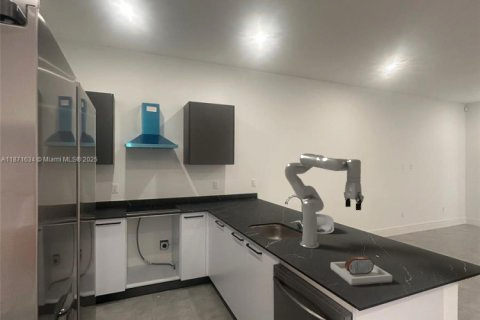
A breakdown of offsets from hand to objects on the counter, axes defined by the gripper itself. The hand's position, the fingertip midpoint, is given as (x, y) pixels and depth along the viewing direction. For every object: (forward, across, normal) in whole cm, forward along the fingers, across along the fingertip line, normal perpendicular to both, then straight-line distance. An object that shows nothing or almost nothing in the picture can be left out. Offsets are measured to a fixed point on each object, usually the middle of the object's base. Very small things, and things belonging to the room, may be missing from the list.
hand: (353, 208), depth 144 cm
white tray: (+30, +19, -9) cm, 37 cm away
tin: (+30, +19, -9) cm, 36 cm away
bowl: (+31, -58, +10) cm, 66 cm away
